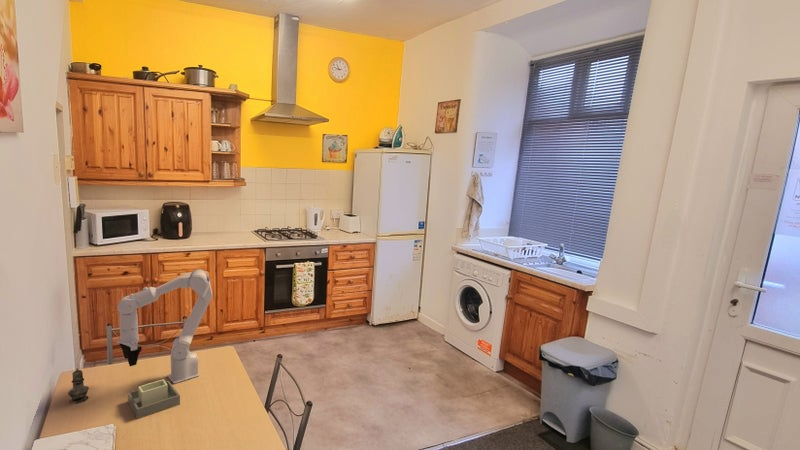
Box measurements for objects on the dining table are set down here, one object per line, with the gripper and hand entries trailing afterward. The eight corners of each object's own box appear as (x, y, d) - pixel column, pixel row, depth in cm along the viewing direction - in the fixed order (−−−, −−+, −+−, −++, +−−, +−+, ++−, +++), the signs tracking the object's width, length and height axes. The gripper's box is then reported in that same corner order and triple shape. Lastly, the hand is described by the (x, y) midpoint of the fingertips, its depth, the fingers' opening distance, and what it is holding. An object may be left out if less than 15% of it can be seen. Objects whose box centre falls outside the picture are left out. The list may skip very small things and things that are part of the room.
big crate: (168, 389, 154) (168, 380, 153) (180, 404, 145) (179, 395, 144) (128, 401, 145) (127, 392, 144) (137, 419, 135) (136, 409, 135)
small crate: (164, 394, 149) (163, 379, 148) (168, 400, 146) (167, 384, 145) (138, 402, 143) (138, 386, 143) (142, 408, 140) (141, 392, 139)
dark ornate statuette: (77, 405, 141) (75, 373, 139) (64, 402, 142) (62, 371, 141) (93, 396, 147) (91, 365, 145) (80, 393, 148) (78, 363, 146)
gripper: (112, 324, 155) (113, 357, 157) (120, 336, 145) (122, 372, 147) (133, 320, 160) (135, 352, 162) (143, 331, 150) (144, 366, 152)
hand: (130, 361), depth 154 cm, fingers open, 7 cm apart
